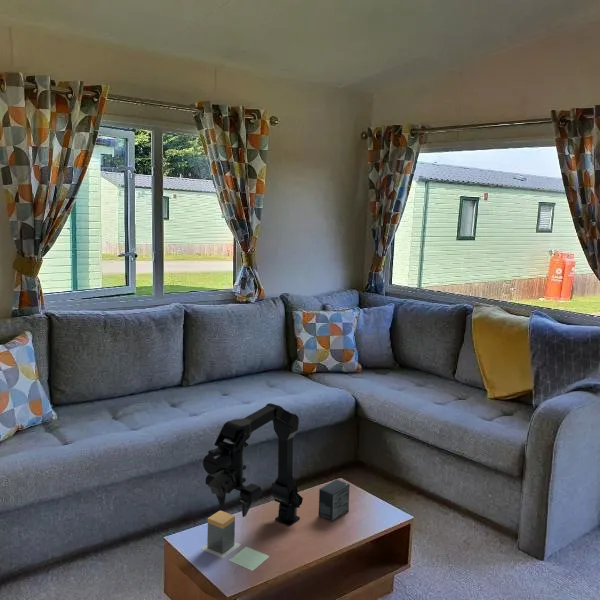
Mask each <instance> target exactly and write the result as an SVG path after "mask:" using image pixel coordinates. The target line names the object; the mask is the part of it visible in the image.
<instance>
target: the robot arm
mask: <svg viewBox="0 0 600 600" xmlns="http://www.w3.org/2000/svg"><path fill="white" fill-rule="evenodd" d="M270 422H272V425H273V430H274V432H275V434H276V436H277V438H278V441H277V443H278V444H277V445H278V446H277V477H276V479H275V481H274V482H272V483H271V494H272V497H273V499H274V500H273V501H274V502H275V503H276V502H277V503H278V514H277V516H275V518H274V520H275V521H277V522H279V523H282V524H283V525H286V526H288V527H289V526H292V525H293V524H294V523H296V522H297V521H299V520H300V519H301V517H300V516H298V515H297V511H298V508H300V507H301V505H303V504H302V503H303V499H304V498H303V497H302V496H301V495H300V493H299V491H298V485H297V482H296V481H295V479H294V477H293V471H294V470H293V463H294V462H293V459H294V457H293V456H294V436H295V435H296V434H297V432H298V431H299V430H298V429H299V424H300V420H299V416H298V415H297V414H295V413H292V412H290V411H288V410H286V409H284V407H282V406H281V405H278V404H275V403H272V402H270V403H267V404H266V405H264V407H262V408H260V409H258V410H256V411H255V412H253V413H251V414H249V415H247V416H245V417H243V418H233V419H231V420H228V421H226V422H225V423H223V426H222V427H221V430H220V432H219V434H218V436H217V438H216V440H215V442H214V446H215V447H216V448H213V449H210V450H208V451H207V452H208V453H207V454H206V455H205V456H204V458H203V460H202V465H203V469H204V471H205V472H206V473H207V475H206V477H205V485H206V486H208V487H209V489H210V491H211V494H214V495H216V498H217V502H218V504H219V507H220V508H223V507H224V505H225V502H226V494H227V495H228V494H231V492H233V490H235V491H239V497H240V498H239V501H240V502H241V513H242V514H241V515H242V518H245V517H246V516H247V514H248V512H249V510H250V508H251V506H252V504H253V503H254V502H255V500H256V499H258V498H260V497H262V496H263V488H262V487H261V486H260V485H257V484H254V483H249V484H248V485H245V484H244V483H245V482H246V479H247V478H246V477H244V471H245V470H246V469H247V465H245V464H244V454H245V453H244V451H245V450H244V448H247V447H248V446H249V443H248V442H247V440H249V439H250V438H251V436H252V433H253V432H254V431H256V430H258V429H259V428H261V427H263V426H265V425H267V424H268V423H270ZM227 441H228V442H227ZM229 442H230V443H229Z"/></svg>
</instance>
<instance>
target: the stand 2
mask: <svg viewBox="0 0 600 600" xmlns="http://www.w3.org/2000/svg"><path fill="white" fill-rule="evenodd" d="M268 558H270V555H268V554H266V553H263V552H260V551H258V550H256V549H254V548H251V547H248V546H246V547H244V548H242V549H241V550H240V551H239V552H238V553H236V554H234V556H232V557H231V558H229V560H228V561H229V562H231V563H233V564H236V565H238V566H239V567H242V568H245V569H248V570H250V571H252V572H253V571H254V570H255V569H257V568H258V567H259V566H260V565H261V564H263V563H264V562H265V561H267V559H268Z"/></svg>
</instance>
